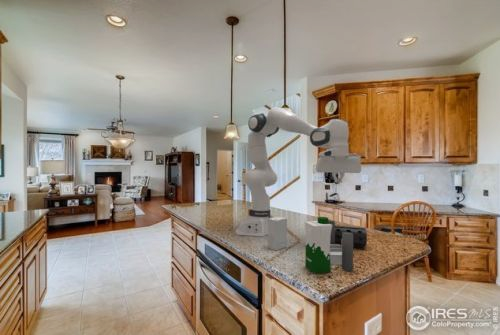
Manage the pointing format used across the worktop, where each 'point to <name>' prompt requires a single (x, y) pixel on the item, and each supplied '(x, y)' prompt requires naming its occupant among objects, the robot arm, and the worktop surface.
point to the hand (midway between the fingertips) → (338, 182)
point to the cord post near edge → (347, 251)
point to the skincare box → (277, 233)
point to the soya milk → (318, 245)
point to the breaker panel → (335, 254)
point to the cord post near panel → (332, 232)
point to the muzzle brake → (358, 235)
